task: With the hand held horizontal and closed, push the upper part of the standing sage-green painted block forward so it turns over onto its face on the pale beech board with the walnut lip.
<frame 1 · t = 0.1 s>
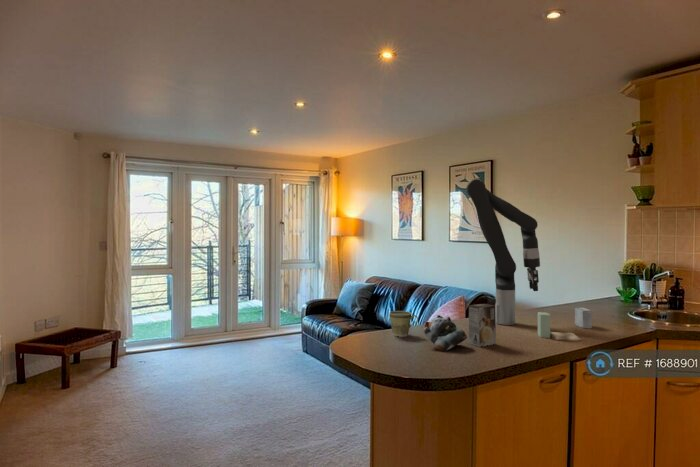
hand: (533, 289, 215), 17 cm above the counter, tool pointing down, fingers open, 8 cm apart
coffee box: (482, 344, 179), on the counter
beech board: (564, 336, 190), on the counter
medicine box: (583, 327, 211), on the counter
sage block: (543, 336, 192), on the counter
ceramic cup: (403, 335, 193), on the counter
grey stuffed animal: (445, 347, 174), on the counter
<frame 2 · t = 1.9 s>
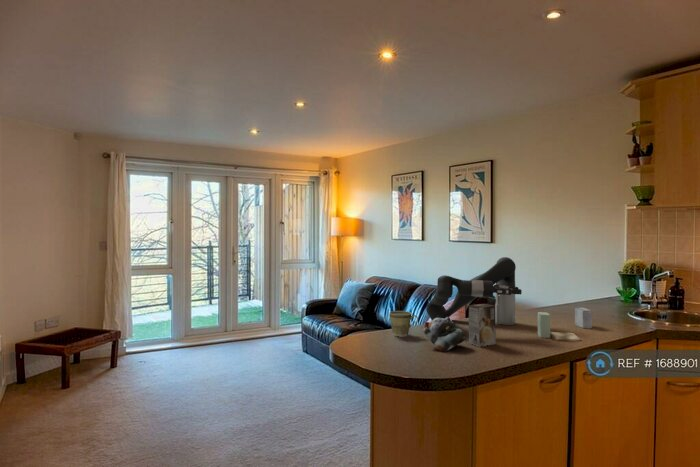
hand: (519, 290, 194), 20 cm above the counter, tool horizontal, fingers open, 7 cm apart
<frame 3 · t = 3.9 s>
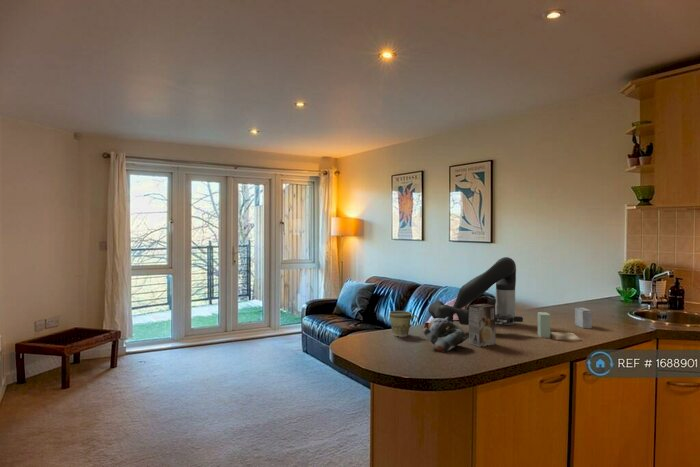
hand: (522, 319, 194), 7 cm above the counter, tool horizontal, fingers closed
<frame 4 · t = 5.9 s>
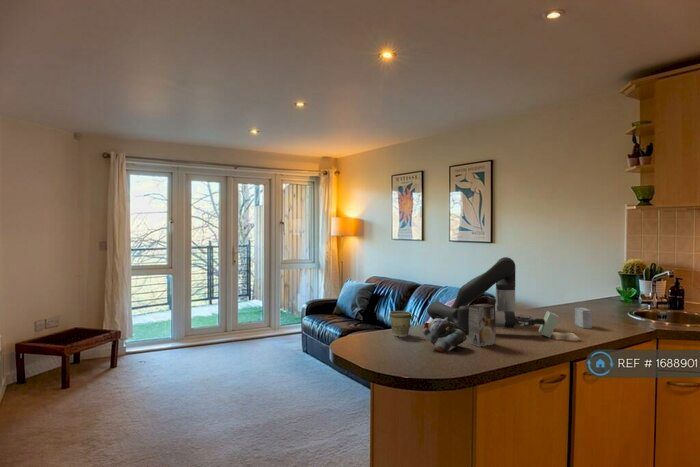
hand: (544, 321, 191), 6 cm above the counter, tool horizontal, fingers closed
sage block: (544, 334, 192), point 1 cm above the counter, tilted 22°
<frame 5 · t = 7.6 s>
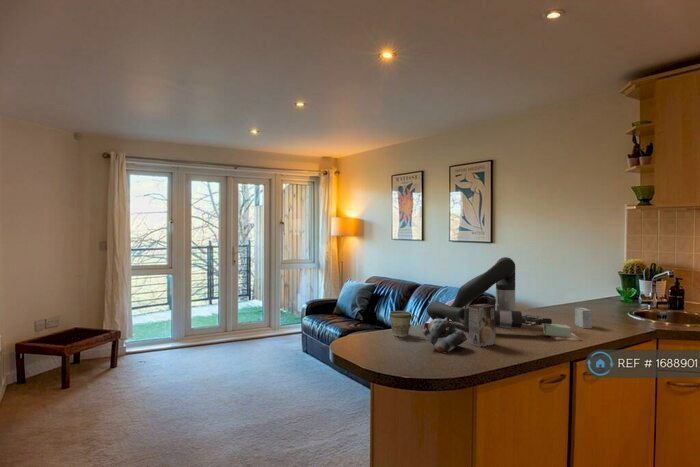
hand: (551, 321, 191), 7 cm above the counter, tool horizontal, fingers closed
sage block: (544, 328, 192), point 3 cm above the counter, tilted 93°, touching beech board
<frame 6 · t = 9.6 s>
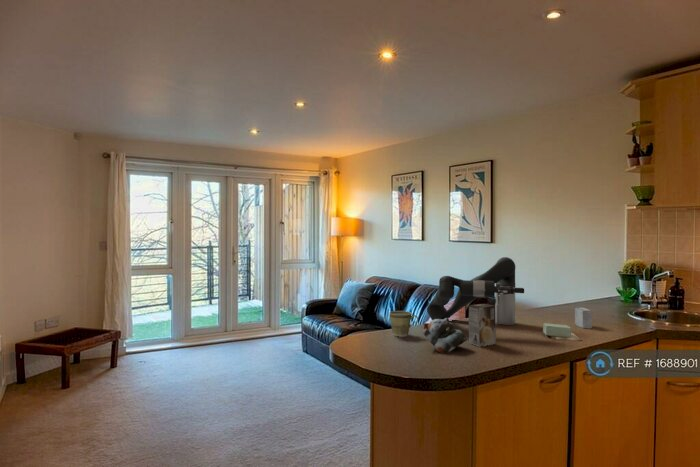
hand: (524, 290, 193), 20 cm above the counter, tool horizontal, fingers closed
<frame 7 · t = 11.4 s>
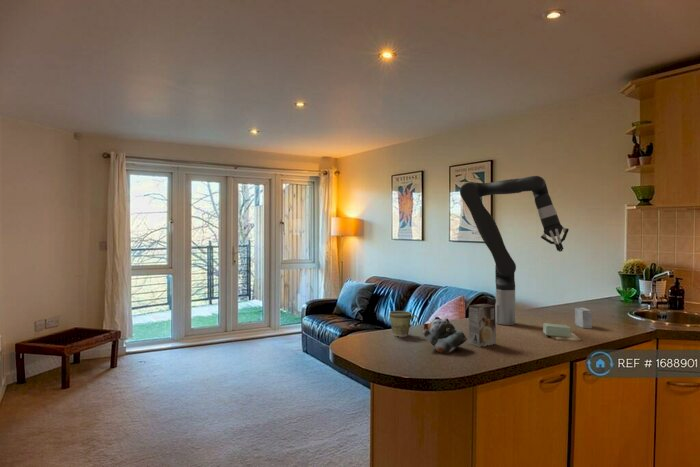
hand: (561, 251, 202), 37 cm above the counter, tool tilted 20°, fingers closed
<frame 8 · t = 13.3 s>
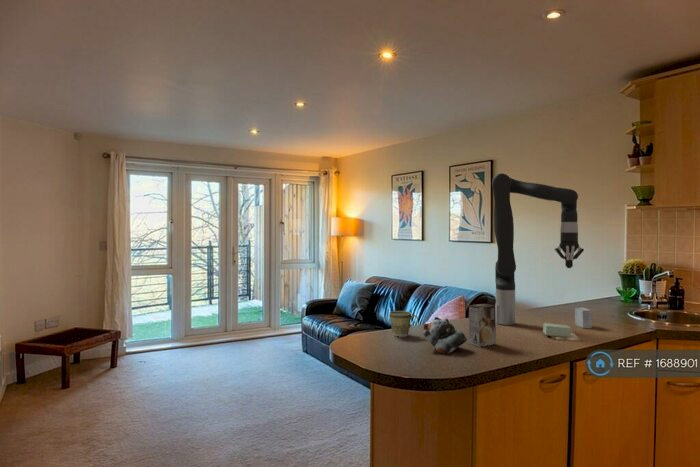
hand: (569, 267, 206), 29 cm above the counter, tool pointing down, fingers closed
at the end: sage block tilted 93°; sage block inside the target area (7.6 cm from its centre), point 3.2 cm above the counter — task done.
